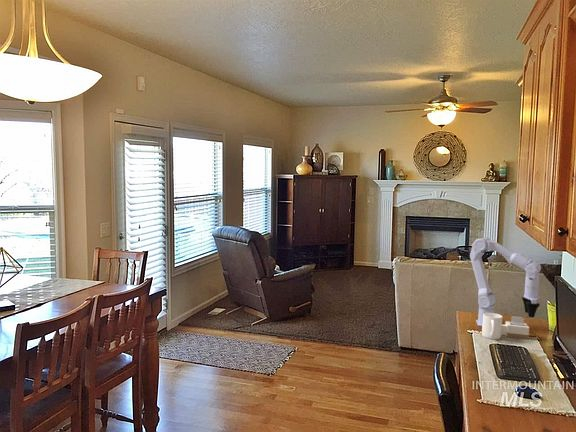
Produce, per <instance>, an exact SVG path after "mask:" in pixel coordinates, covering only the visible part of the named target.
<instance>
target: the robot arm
mask: <svg viewBox="0 0 576 432" xmlns="http://www.w3.org/2000/svg"><path fill="white" fill-rule="evenodd" d="M488 251H491V252H492V251H494V252H497V253H498V254H500V255H502V256H504V257H506V258H507V259H509V260H510V262H511V264H513V265H515V266H516V267H518V268H519V269H522V270H524V271H525V281H524V295H523V296H522V297H521V300H522V302H523V306H524V313H526V314H528V318H534V317H536V316H535V315H536V314H537V310H538V308H539V306H540V303H538V299H541V296H539V285H540V272H541V269H542V266H541V264H540V263H539V262H538V261H537V260H533V258H529V257H527V256H525V255H524V254H523V253H522V252H513V251H511V250H510V249H508V248H506V247H505V246H504V245H502V244H500V243H498V242H497V241H495V240H493V239H490V238H489V237H485V236H484V237H481V238H477V239H475V241H474V242H472V245H471V250H470V253H469V258H470V261H471V265H472V270H473V273H474V277H475V281H476V284H477V285H476V286H477V288H478V293H477V296H478V300H477V302H478V316H477V319H475V322H476V324H477V326H478V327H482V324H483V314H484V313H495V309H496V308H495V306H494V305H495V304H496V302H497V297H496V295H495V294H494V293H493V290H492V289H491V287H490V284H489V281H488V277H487V273H486V269H485V266H484V263H483V259H482V258H483V257H482V256H484V254H485V253H486V252H488Z"/></svg>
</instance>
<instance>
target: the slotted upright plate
mask: <svg viewBox="0 0 576 432" xmlns="http://www.w3.org/2000/svg"><path fill="white" fill-rule="evenodd" d="M529 334H530V326H529V325H528V324H527V323H525V322H524V326H518V325H511V321H507V320H506V321H505V323H504V324H503V323H502V330H501V336H506V337H507V338H514V339H522V340H529V337H530V336H529Z"/></svg>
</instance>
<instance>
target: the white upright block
mask: <svg viewBox="0 0 576 432" xmlns="http://www.w3.org/2000/svg"><path fill="white" fill-rule="evenodd" d="M510 322H511V325H518V326H524V323H525V318H524V316H516V315H515V316H514V315H513V316H511V321H510Z"/></svg>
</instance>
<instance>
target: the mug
mask: <svg viewBox="0 0 576 432" xmlns="http://www.w3.org/2000/svg"><path fill="white" fill-rule="evenodd" d="M502 324H503V315H502V314H499V313H495V312H494V313H484V314H483V324H482V326H481V336H482V337H483V336H484V338H486V339H488V340H500V339H501V337H502V335H501V330H502Z"/></svg>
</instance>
